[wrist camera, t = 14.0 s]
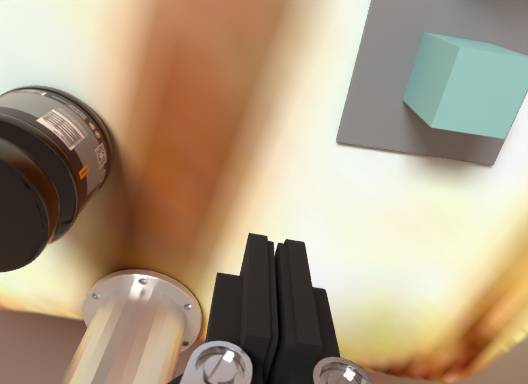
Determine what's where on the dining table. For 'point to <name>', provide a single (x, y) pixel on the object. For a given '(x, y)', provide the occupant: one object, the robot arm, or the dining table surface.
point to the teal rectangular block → (467, 85)
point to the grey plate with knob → (400, 67)
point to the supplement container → (46, 168)
